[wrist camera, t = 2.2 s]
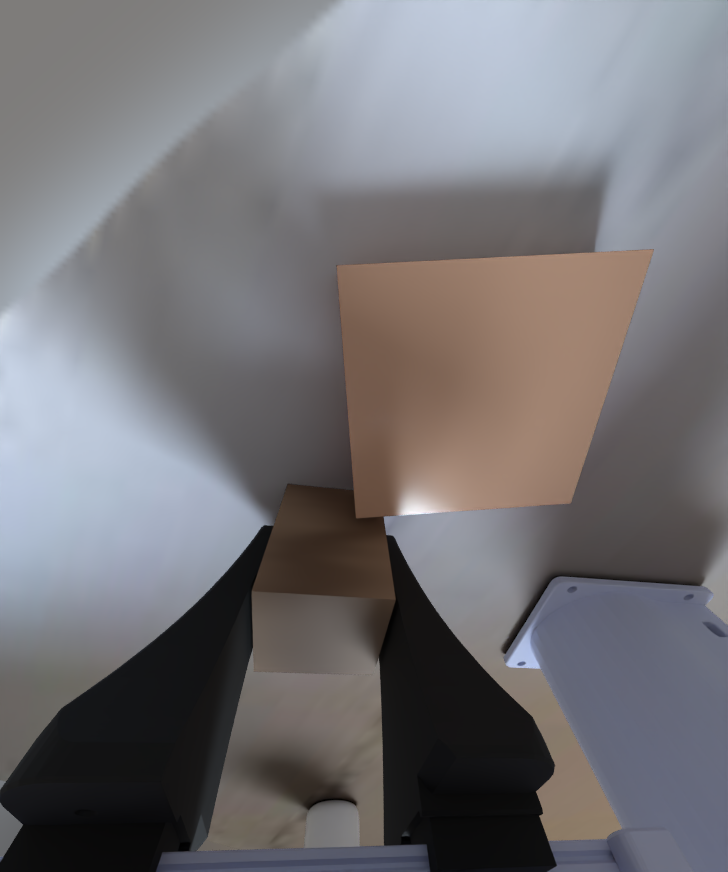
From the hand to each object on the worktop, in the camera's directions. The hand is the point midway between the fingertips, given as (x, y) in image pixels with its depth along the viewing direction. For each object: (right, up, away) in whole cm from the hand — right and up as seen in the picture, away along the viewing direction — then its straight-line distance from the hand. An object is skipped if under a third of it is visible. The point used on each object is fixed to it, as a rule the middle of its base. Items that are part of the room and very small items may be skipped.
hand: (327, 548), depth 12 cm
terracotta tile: (+5, +7, -1) cm, 8 cm away
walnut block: (0, +1, +1) cm, 2 cm away
